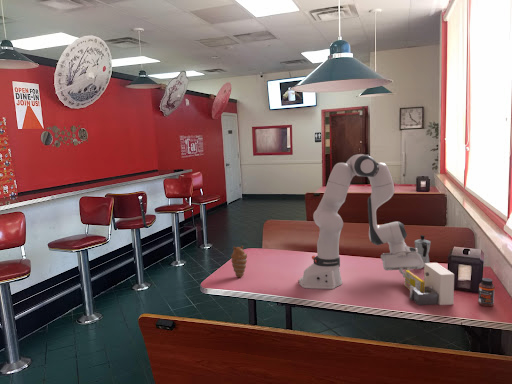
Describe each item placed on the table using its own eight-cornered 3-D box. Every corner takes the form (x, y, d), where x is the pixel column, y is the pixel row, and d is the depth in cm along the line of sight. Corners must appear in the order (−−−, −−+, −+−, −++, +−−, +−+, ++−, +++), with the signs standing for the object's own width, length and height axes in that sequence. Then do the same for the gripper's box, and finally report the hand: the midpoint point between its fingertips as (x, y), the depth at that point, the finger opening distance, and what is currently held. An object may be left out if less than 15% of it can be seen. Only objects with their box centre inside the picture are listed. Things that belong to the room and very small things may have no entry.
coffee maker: (411, 262, 232) (412, 232, 229) (427, 262, 230) (428, 232, 228) (416, 270, 217) (417, 239, 215) (433, 270, 216) (434, 239, 213)
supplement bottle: (479, 305, 171) (480, 281, 169) (477, 300, 176) (478, 276, 175) (495, 307, 169) (496, 282, 167) (492, 301, 174) (493, 277, 172)
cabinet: (438, 305, 173) (438, 274, 171) (422, 291, 189) (422, 263, 187) (453, 304, 173) (454, 274, 171) (436, 290, 189) (436, 262, 187)
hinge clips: (415, 305, 174) (416, 292, 173) (408, 297, 182) (408, 285, 181) (439, 304, 174) (440, 291, 173) (430, 296, 182) (431, 284, 182)
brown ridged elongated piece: (233, 280, 214) (231, 248, 211) (231, 275, 221) (229, 245, 219) (248, 278, 215) (247, 247, 213) (246, 274, 223) (244, 243, 220)
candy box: (424, 298, 181) (424, 281, 180) (420, 298, 181) (420, 281, 179) (408, 285, 197) (408, 269, 196) (404, 285, 197) (404, 269, 195)
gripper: (381, 250, 202) (388, 275, 194) (420, 248, 203) (428, 273, 194) (378, 256, 207) (384, 280, 199) (416, 254, 208) (424, 278, 199)
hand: (406, 276), depth 197 cm, fingers closed, pressing on candy box
